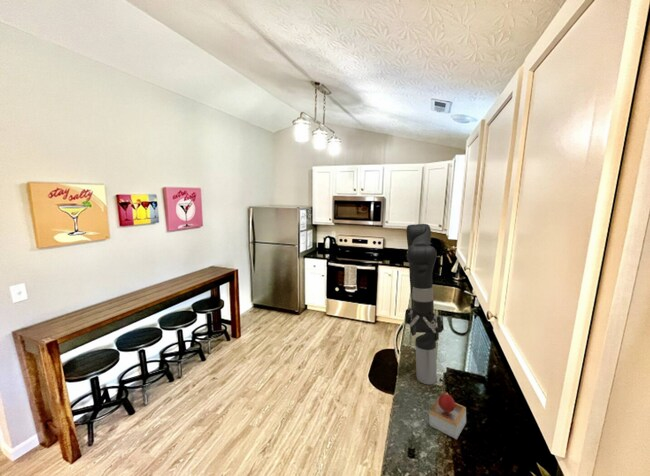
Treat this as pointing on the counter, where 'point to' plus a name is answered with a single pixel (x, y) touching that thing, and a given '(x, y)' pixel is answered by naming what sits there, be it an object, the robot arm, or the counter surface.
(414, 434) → the counter surface
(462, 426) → the wooden tray
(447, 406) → the onion
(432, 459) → the counter surface
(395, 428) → the counter surface
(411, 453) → the counter surface
